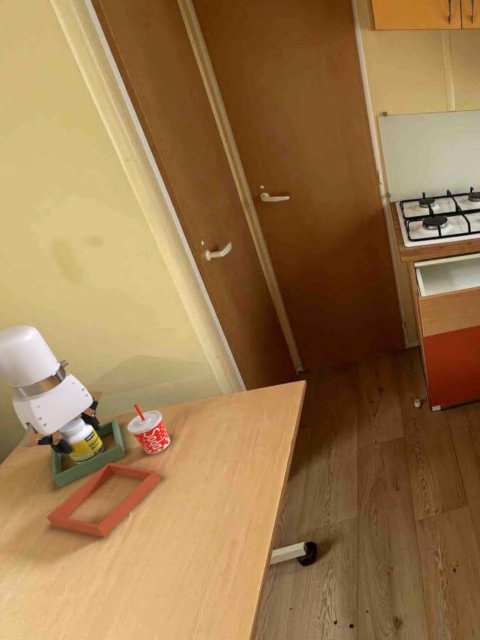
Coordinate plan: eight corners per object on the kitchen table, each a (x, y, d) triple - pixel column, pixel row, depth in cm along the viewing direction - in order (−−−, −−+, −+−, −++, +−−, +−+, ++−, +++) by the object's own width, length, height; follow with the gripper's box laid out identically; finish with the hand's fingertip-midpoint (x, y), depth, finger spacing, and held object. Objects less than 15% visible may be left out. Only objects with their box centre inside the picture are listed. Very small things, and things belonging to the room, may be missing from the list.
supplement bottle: (101, 458, 97) (80, 429, 92) (70, 468, 95) (48, 438, 90) (108, 440, 101) (89, 411, 96) (79, 449, 99) (58, 420, 94)
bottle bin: (58, 456, 98) (50, 446, 97) (120, 429, 105) (114, 418, 104) (60, 489, 91) (51, 478, 90) (126, 457, 98) (119, 446, 97)
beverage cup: (140, 462, 97) (114, 420, 90) (145, 443, 102) (120, 401, 95) (173, 451, 100) (150, 409, 93) (176, 432, 104) (154, 391, 98)
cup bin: (55, 527, 84) (46, 517, 82) (115, 472, 95) (108, 462, 93) (106, 539, 82) (97, 528, 81) (162, 481, 93) (155, 471, 91)
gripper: (69, 351, 95) (105, 409, 104) (-29, 410, 80) (22, 471, 89) (97, 355, 94) (130, 413, 103) (3, 415, 79) (51, 477, 88)
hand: (80, 439), depth 95 cm, fingers closed on supplement bottle, 5 cm apart
